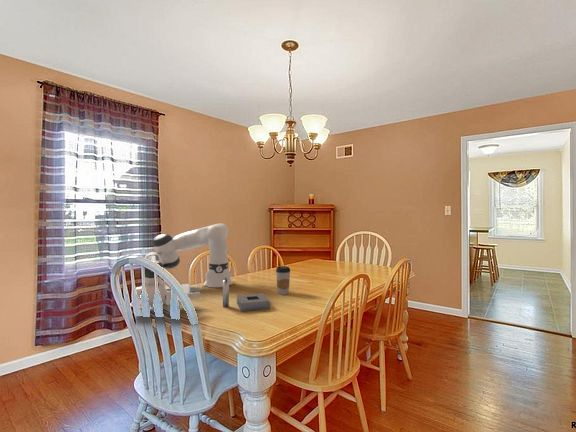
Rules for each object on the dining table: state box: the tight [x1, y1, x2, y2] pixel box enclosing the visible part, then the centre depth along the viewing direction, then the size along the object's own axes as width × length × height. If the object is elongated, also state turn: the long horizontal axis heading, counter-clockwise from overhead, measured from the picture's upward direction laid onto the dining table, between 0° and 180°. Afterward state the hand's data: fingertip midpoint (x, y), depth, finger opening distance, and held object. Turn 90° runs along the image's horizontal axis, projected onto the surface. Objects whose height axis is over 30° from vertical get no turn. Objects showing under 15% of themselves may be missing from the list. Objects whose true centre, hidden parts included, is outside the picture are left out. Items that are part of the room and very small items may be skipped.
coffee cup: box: [275, 265, 291, 296], centre depth 178 cm, size 8×8×15 cm
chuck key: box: [222, 277, 230, 308], centre depth 154 cm, size 5×3×14 cm, turn 17°
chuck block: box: [236, 293, 271, 313], centre depth 155 cm, size 14×14×4 cm
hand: (200, 291), depth 150 cm, fingers open, 8 cm apart
